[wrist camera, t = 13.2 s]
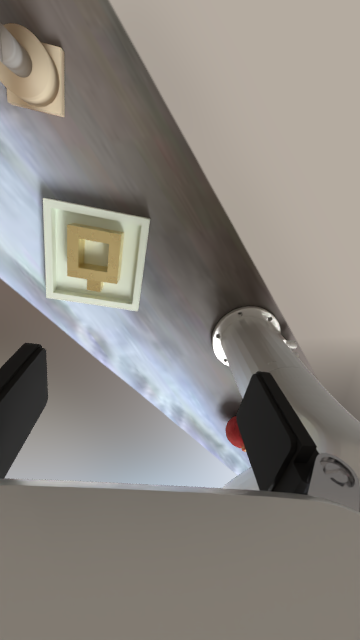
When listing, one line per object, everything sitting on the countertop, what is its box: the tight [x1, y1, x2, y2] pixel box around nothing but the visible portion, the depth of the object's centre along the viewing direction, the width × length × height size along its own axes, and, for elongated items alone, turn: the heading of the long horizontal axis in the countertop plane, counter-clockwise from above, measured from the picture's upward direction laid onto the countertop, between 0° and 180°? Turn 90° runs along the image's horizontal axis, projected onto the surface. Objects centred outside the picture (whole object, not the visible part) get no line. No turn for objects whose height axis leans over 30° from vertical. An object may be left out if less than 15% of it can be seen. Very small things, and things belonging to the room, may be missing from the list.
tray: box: [43, 198, 151, 311], centre depth 37 cm, size 14×14×2 cm
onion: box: [226, 416, 246, 452], centre depth 51 cm, size 6×6×8 cm
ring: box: [67, 223, 124, 292], centre depth 36 cm, size 7×9×3 cm
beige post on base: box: [0, 23, 65, 118], centre depth 25 cm, size 6×6×9 cm
